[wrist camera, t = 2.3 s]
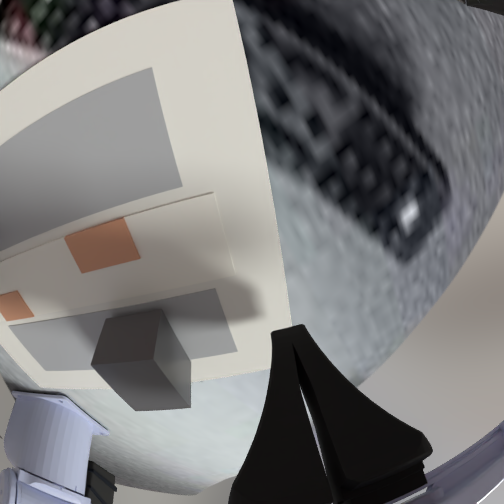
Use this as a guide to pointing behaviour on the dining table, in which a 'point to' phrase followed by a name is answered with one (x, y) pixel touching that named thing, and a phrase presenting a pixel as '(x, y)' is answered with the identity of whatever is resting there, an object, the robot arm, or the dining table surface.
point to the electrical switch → (487, 5)
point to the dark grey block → (144, 362)
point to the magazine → (99, 485)
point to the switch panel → (139, 198)
